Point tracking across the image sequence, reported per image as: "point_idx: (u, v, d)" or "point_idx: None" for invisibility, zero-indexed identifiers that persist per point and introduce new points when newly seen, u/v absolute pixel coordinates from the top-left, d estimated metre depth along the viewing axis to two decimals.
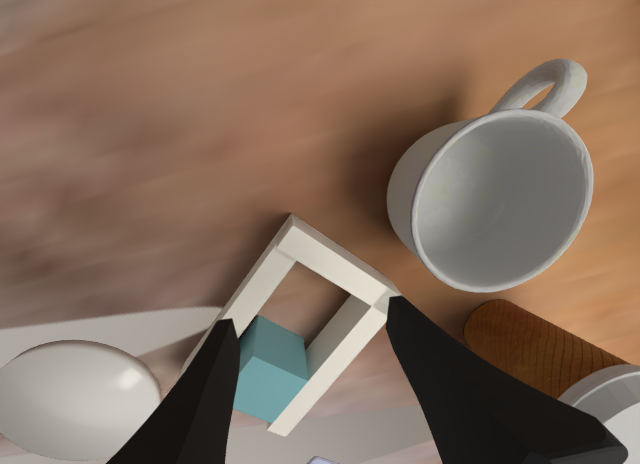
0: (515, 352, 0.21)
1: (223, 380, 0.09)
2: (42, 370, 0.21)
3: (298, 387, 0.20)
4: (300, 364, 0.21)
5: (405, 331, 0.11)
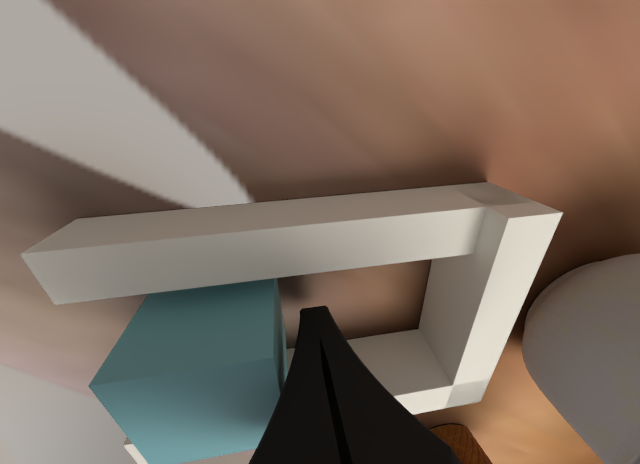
0: None
1: None
2: None
3: None
4: None
5: None
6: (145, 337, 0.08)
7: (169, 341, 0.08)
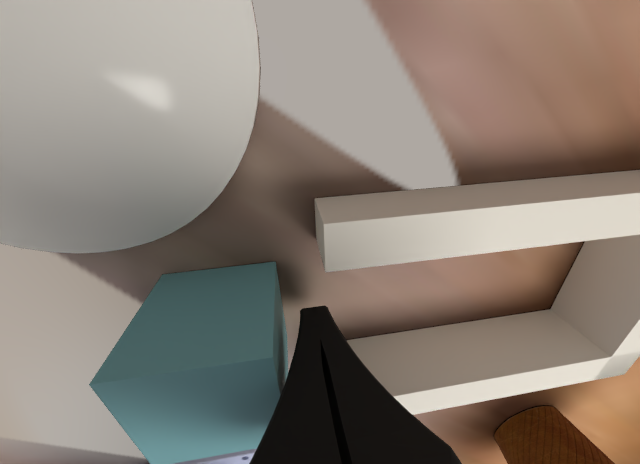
0: None
1: (321, 365, 0.10)
2: None
3: None
4: None
5: None
6: (146, 336, 0.08)
7: (169, 341, 0.08)
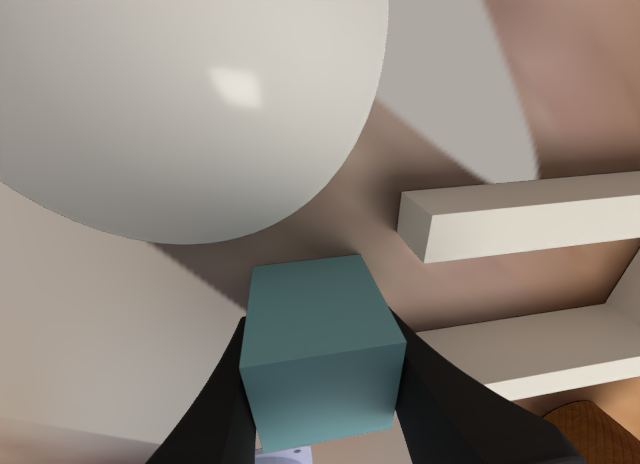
0: None
1: None
2: None
3: (370, 428, 0.10)
4: None
5: None
6: (270, 323, 0.09)
7: (296, 328, 0.09)
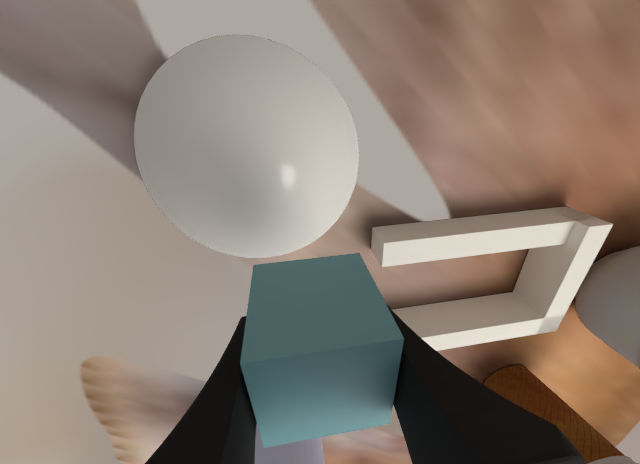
0: (556, 412, 0.27)
1: None
2: (296, 95, 0.14)
3: (369, 423, 0.10)
4: None
5: None
6: (270, 321, 0.09)
7: (295, 324, 0.09)
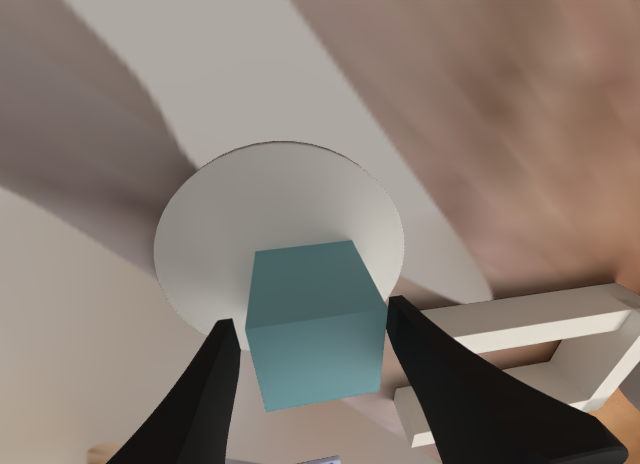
0: None
1: (223, 381, 0.09)
2: (340, 200, 0.12)
3: (360, 390, 0.11)
4: None
5: (405, 331, 0.11)
6: (271, 296, 0.10)
7: (292, 299, 0.10)
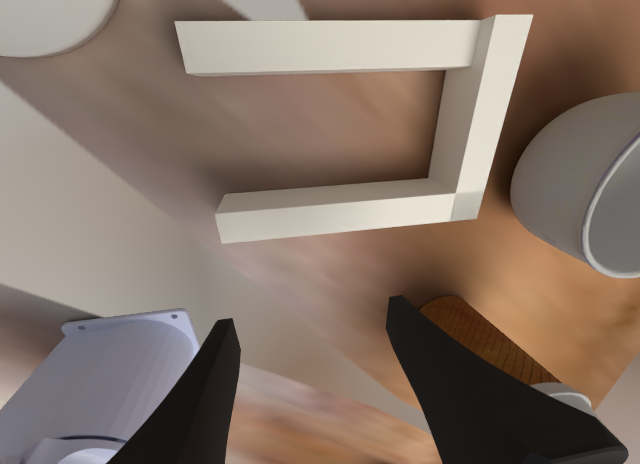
0: (486, 339, 0.21)
1: (223, 381, 0.09)
2: None
3: None
4: None
5: (405, 331, 0.11)
6: None
7: None
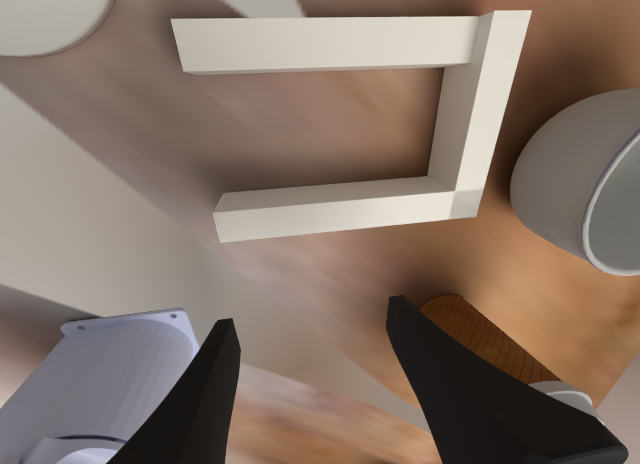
0: (486, 338, 0.20)
1: (223, 381, 0.09)
2: None
3: None
4: None
5: (405, 331, 0.11)
6: None
7: None
